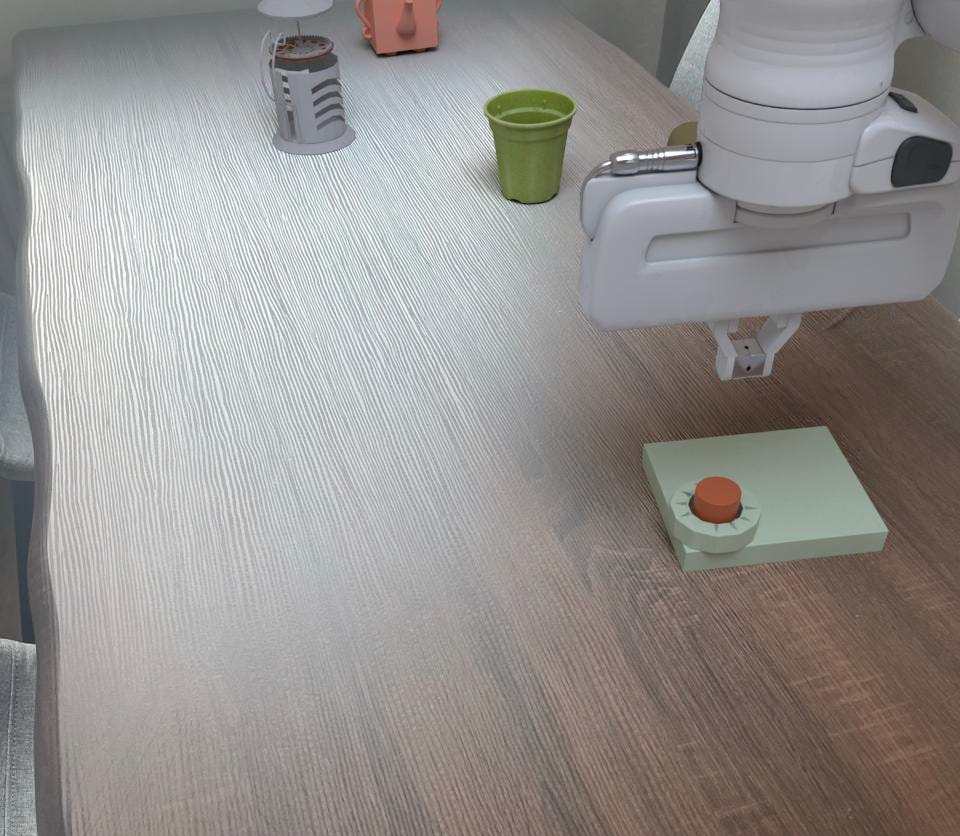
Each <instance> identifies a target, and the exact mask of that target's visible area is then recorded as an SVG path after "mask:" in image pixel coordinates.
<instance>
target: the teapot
mask: <svg viewBox="0 0 960 836" xmlns="http://www.w3.org/2000/svg"><path fill="white" fill-rule="evenodd" d="M361 3H362V7H363V12H362V10H361V8H360V7H361ZM442 5H443V0H355V1H354V10H355V13H356V14H357V16H358V18H359V19H360V21H361V22H362V23H363V24H364V26H363V27H362V28H361V35H362V38H364V39H365V40H368V42H369V44H370V46H371V47H372V49H373V50H374V51H375V53H376V54H377V55H379V54H385V55H386V56H395V55H397V54H398V52H404V51H409V50H410V51H412V50H413V52H418V53H420V52H424V51H426V49H428V48H436V47H438V46H439V42H438V41H439V40H438V39H439V38H438V30H439V28H440V20H439V19H438V18H437V14H439V13H438V12H439V11H440V9H441V7H442Z"/></svg>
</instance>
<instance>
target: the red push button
mask: <svg viewBox="0 0 960 836" xmlns="http://www.w3.org/2000/svg"><path fill="white" fill-rule="evenodd" d="M741 494H742V492H741V489H740V487H739V485H738V484H737V483H735V482H734V481H732V480H730V479H728V478H724V477H718V476H714V477H708V478H705V479H703V480H701V481H700V482H699V483H698V484H697V486H696V489H695V495H694V501H693V507H692V509H693V513H694V514H695V516H696V517H697V518H699V519H700V520H702V521H705V522H709V523H713V524H723V523H729V522H731V521H733V520H734V519H735V518H736V516H737V513H738V509H739V504H740V499H741Z"/></svg>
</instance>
